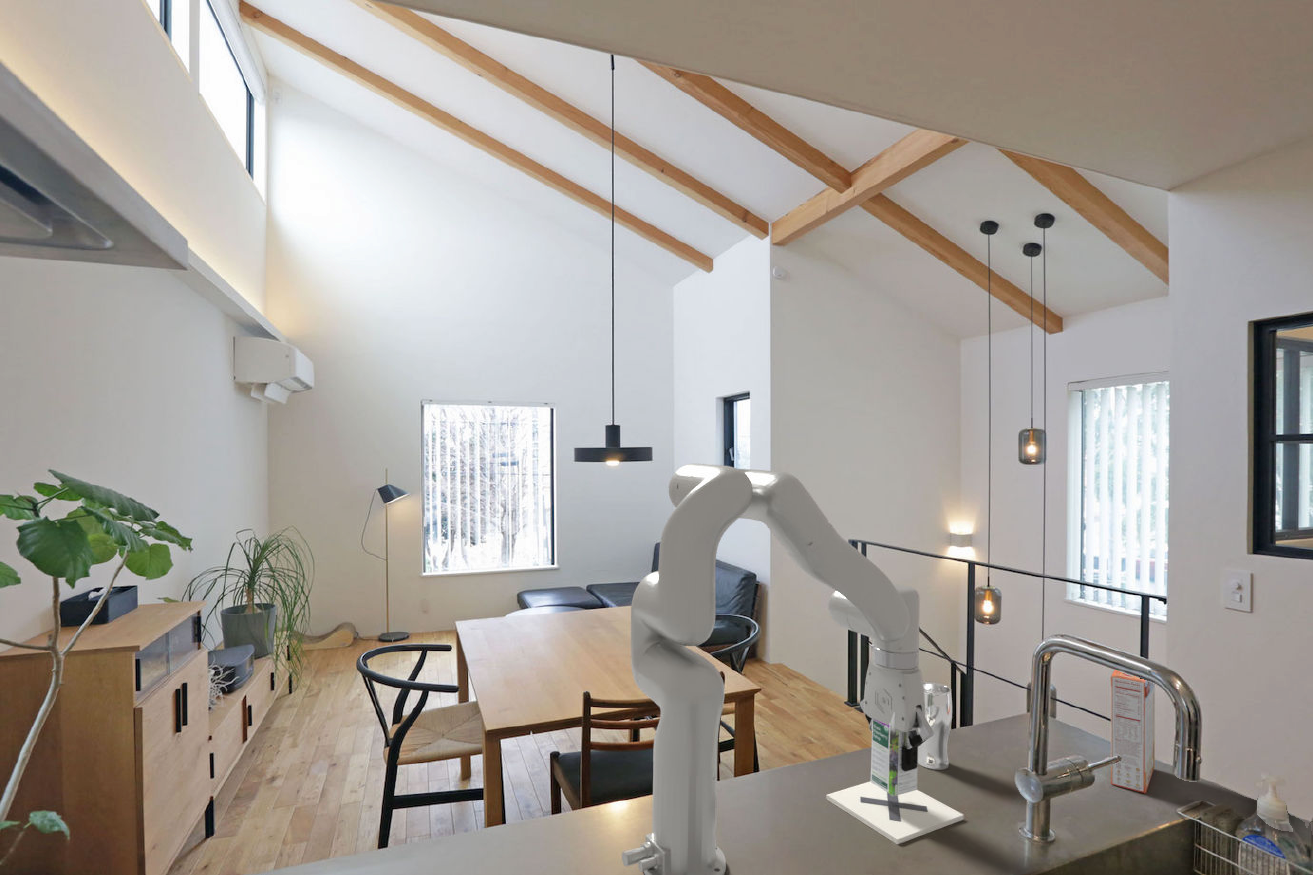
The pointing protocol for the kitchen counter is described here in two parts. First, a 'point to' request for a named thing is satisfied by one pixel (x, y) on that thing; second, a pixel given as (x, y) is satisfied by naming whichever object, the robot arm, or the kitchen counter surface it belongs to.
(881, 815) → the letter placard
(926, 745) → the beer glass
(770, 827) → the kitchen counter surface
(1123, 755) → the cracker box
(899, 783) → the syrup box
